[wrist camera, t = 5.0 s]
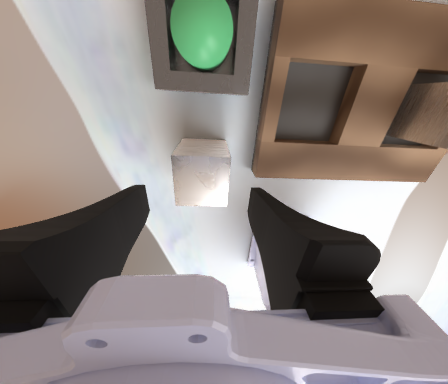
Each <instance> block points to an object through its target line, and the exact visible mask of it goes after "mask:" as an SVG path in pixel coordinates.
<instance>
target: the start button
mask: <svg viewBox="0 0 448 384" xmlns="http://www.w3.org/2000/svg"><path fill="white" fill-rule="evenodd" d="M170 26H171V33H172V37H173V41H174V43H175V45H176V47H177V49H178V51H179V52H180V54H181V55H182V57H183V58H184V59H185V61H186V62H187V63H188V64H189V65H190V66H191V67H192V68H194V69H196V70H198V71H201V72H210V71H213V70H215V69H217V68H218V67H219V66H220V65H221V64H222V63H223V62H224V60H225V58H226V56H227V54H228V51H229V48H230V45H231V42H232V37H233V20H232V15H231V11H230V8H229V6H228V4H227V2H226V0H175V2H174V4H173V7H172V11H171V18H170Z"/></svg>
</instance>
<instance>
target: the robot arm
mask: <svg viewBox="0 0 448 384" xmlns="http://www.w3.org/2000/svg"><path fill="white" fill-rule="evenodd" d="M149 211H150V209H149V204H148V199H147V193H146V188H145V185H134V186H131V187H129V188H126V189H124V190H122V191H120V192H118V193H116V194H114V195H112V196H110V197H108V198H105V199H103V200H101V201H99V202H96V203H94V204H92V205H90V206H87V207H84V208H82V209H79V210H76V211H73V212H70V213H67V214H64V215H61V216H57V217H54V218H50V219H47V220H43V221H40V222H35V223H31V224H27V225H23V226H18V227H13V228H9V229H3V230H0V384H448V335H447V334H446V333H445V332H444V331H443V330H442V329H441V328H440V327H439V326H438V325H437V324H436V323H435V322H434V321H433V320H432V319H431V318H430V317H429V316H428V315H427V314H426V313H425V312H424V311H423V310H422V309H421V308H420V307H419V306H418V305H417V304H416V303H415V302H414V301H413V300H412V299H411V298H410V297H409V296H408V295H384V296H380V297H377V298H375V297H374V295H373V294H372V293H371V292H370V291H371V290H372V289H373V287H372V285H371V284H370V283H369V282H368V281H367V279H368V278H369V276H370V275H371V274H372V272H373V271H374V270H375V268H376V267H377V265H378V263H379V262H380V257H381V253H380V250H379V249H378V248H377V247H376V246H375V245H374V244H373V243H372V242H371V241H370V240H369V239H368V238H367V237H366V236H364V235H361V234H357V233H354V232H350V231H346V230H342V229H339V228H336V227H333V226H330V225H327V224H324V223H321V222H319V221H316V220H314V219H311V218H309V217H307V216H305V215H303V214H301V213H299V212H297V211H295V210H293V209H291V208H289V207H288V206H286V205H285V204H283V203H281V202H280V201H278V200H277V199H276V198H274V197H273V196H271V195H270V194H269V193H267V192H266V191H264V190H263V189H261V188H251V192H250V199H249V206H248V217H249V222H250V226H251V229H252V232H253V236H252V242H251V247H250V252H249V258H248V266H251V267H252V266H254V268H255V272H256V276H257V280H258V284H259V288H260V292H261V296H262V300H263V303H264V305H265V307H266V309H267V310H260V311H247V310H241V309H235V308H230V307H229V295H228V292H227V289H226V286H225V285H224V284H223V283H221V282H220V281H218V280H217V279H215V278H213V277H211V276H205V275H198V274H186V275H132V276H120V275H121V272H122V270H123V267H124V264H125V262H126V260H127V257H128V255H129V253H130V251H131V249H132V247H133V245H134V243H135V241H136V240H137V238H138V236H139V234H140V232H141V230H142V228H143V227H144V225H145V223H146V220H147V217H148V214H149Z"/></svg>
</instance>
